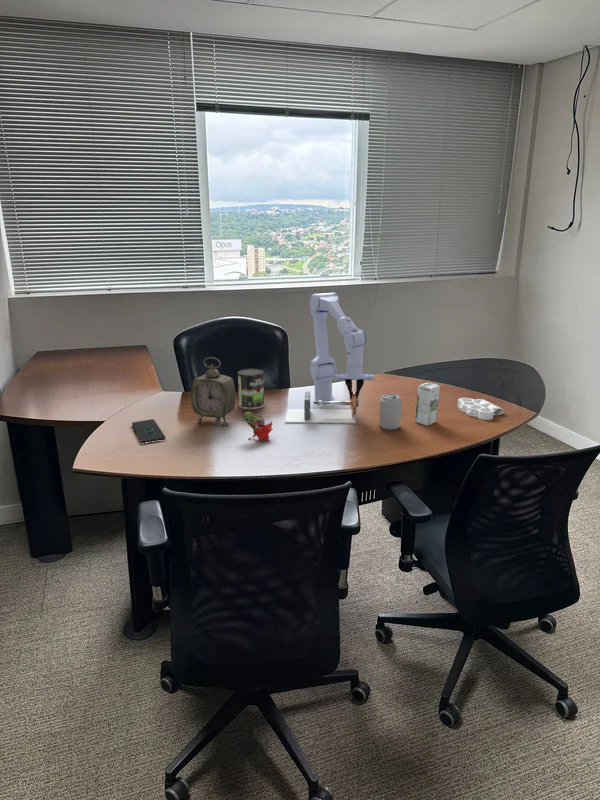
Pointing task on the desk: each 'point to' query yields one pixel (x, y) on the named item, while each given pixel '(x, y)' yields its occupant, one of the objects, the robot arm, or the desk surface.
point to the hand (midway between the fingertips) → (353, 398)
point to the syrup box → (427, 403)
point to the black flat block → (148, 431)
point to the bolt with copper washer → (343, 403)
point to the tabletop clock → (213, 394)
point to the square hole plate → (307, 406)
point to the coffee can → (251, 388)
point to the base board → (321, 416)
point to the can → (390, 411)
